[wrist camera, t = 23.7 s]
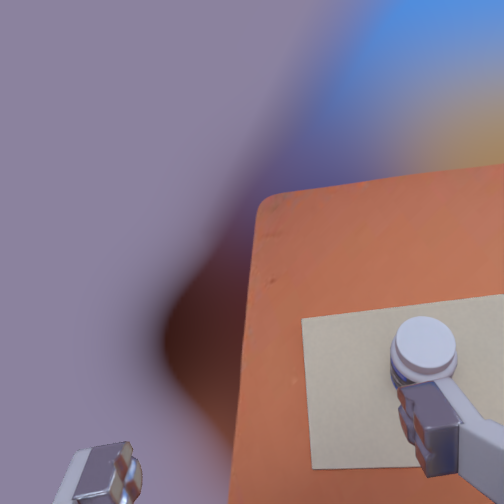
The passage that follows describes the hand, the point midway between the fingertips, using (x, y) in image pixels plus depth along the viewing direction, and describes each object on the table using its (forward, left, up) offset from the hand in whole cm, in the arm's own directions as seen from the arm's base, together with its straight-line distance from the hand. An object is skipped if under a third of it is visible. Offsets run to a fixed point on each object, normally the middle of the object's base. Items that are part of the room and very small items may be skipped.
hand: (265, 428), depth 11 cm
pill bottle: (+7, +9, -25) cm, 27 cm away
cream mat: (+7, +9, -25) cm, 27 cm away
